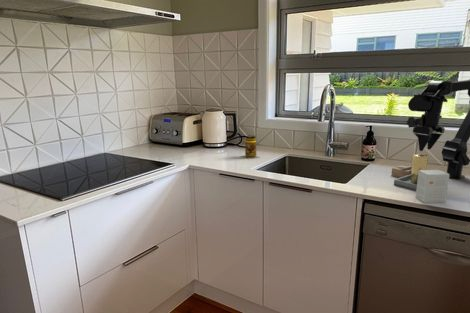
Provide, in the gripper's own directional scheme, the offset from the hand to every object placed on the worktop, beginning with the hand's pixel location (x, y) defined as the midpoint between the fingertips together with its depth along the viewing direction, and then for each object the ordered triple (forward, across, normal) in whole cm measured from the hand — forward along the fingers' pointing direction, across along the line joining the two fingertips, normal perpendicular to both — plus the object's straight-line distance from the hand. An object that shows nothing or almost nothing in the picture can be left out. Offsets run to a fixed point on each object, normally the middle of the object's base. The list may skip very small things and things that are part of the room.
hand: (425, 150), depth 140 cm
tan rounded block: (+13, -2, -7) cm, 15 cm away
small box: (+15, +21, +12) cm, 28 cm away
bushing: (+13, +8, +2) cm, 15 cm away
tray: (+14, +8, +2) cm, 16 cm away
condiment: (+19, +22, -80) cm, 85 cm away
